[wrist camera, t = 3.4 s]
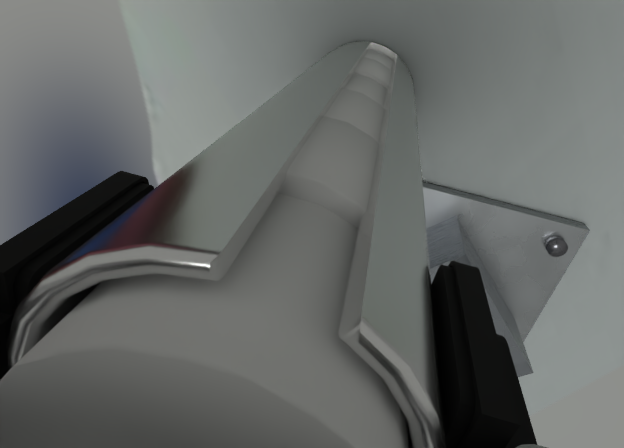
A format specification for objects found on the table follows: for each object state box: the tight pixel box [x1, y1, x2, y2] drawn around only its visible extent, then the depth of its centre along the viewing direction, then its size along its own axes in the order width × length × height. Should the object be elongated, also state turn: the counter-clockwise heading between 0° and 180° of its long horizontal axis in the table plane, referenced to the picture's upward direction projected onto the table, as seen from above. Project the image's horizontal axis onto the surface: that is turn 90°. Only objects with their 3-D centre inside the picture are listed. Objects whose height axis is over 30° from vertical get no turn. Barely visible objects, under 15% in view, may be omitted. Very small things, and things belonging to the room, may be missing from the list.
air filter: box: [0, 41, 446, 448], centre depth 16 cm, size 6×6×25 cm
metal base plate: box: [422, 181, 590, 377], centre depth 30 cm, size 16×16×6 cm
